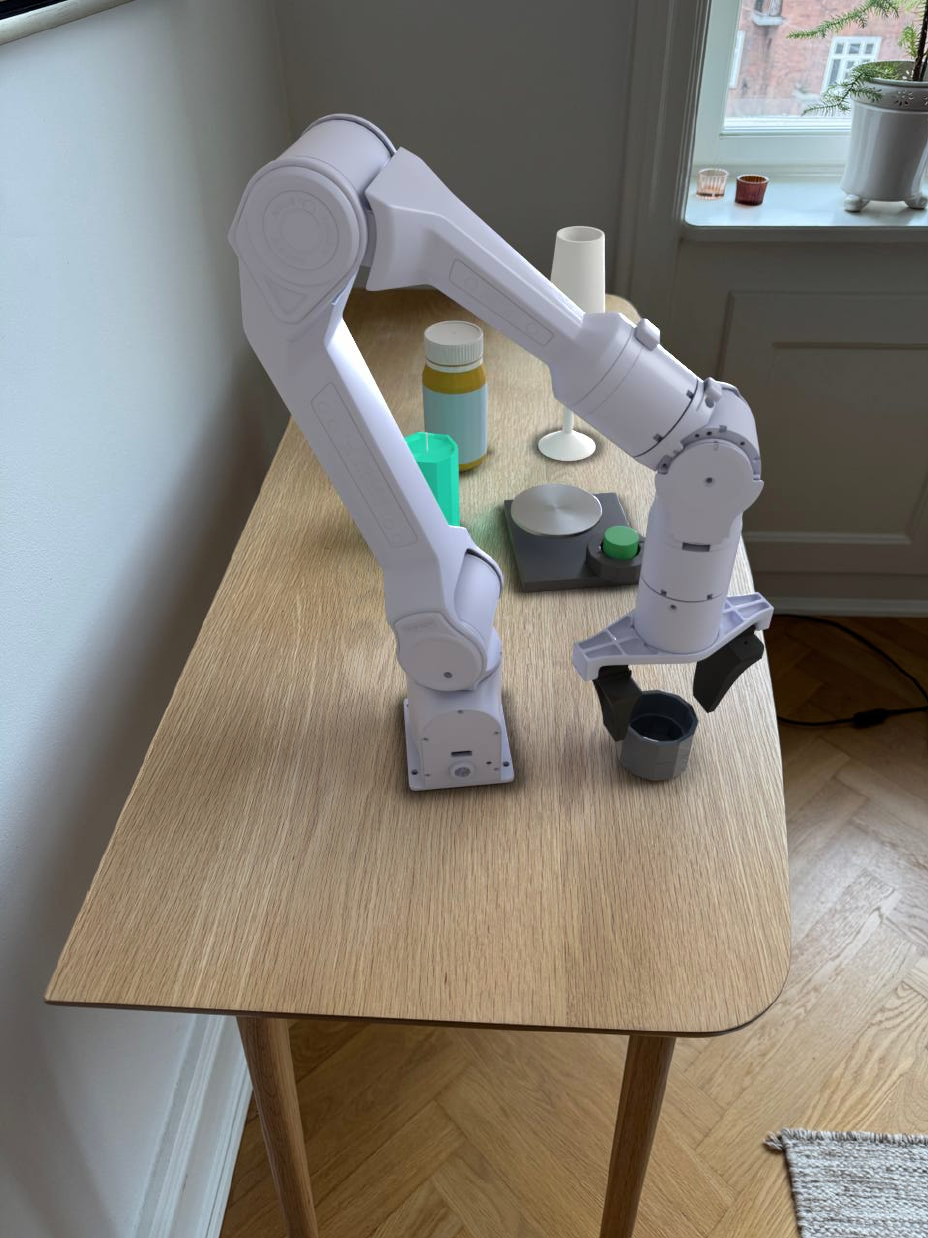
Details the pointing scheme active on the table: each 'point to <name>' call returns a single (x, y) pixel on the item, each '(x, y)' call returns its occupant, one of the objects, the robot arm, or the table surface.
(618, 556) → the tare button
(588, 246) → the champagne flute
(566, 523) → the scale pan
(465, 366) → the bottle
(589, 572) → the scale
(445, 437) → the candle
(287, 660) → the table surface
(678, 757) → the faceted grey cup
